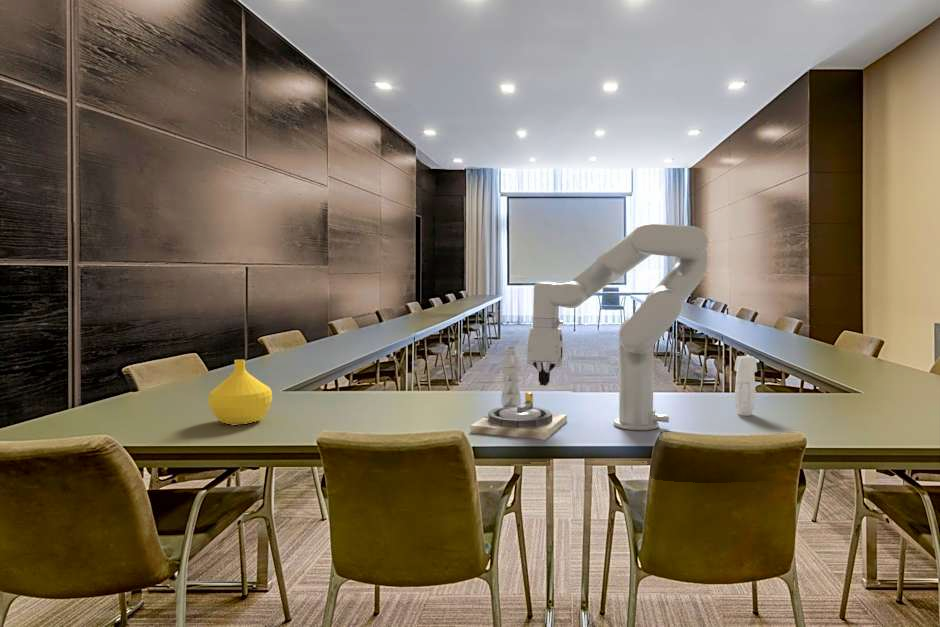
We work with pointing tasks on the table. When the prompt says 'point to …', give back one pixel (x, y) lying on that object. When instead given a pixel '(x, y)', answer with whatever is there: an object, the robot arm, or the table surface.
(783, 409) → the table surface
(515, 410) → the dial
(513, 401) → the plastic bottle
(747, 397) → the flashlight
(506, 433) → the dial plate
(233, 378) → the vase
